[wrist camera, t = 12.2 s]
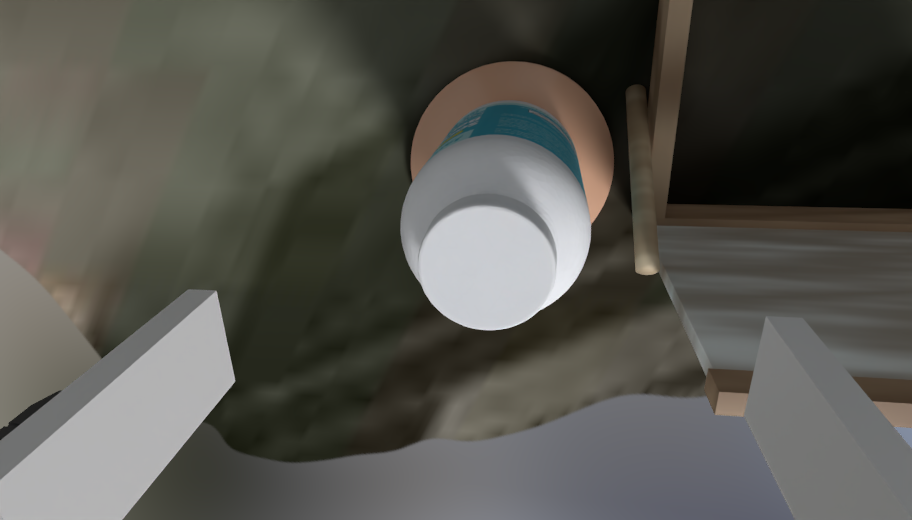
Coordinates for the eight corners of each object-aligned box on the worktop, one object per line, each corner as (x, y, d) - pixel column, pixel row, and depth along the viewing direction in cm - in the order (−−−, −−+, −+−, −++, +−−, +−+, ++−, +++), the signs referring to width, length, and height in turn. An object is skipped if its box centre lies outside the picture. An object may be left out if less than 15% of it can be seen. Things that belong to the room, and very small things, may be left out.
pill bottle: (467, 76, 30) (415, 123, 18) (600, 127, 30) (642, 208, 18) (423, 205, 33) (353, 321, 21) (544, 251, 33) (547, 393, 21)
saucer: (407, 61, 31) (405, 62, 30) (621, 59, 29) (623, 60, 29) (417, 254, 35) (415, 257, 34) (604, 260, 33) (605, 264, 33)
